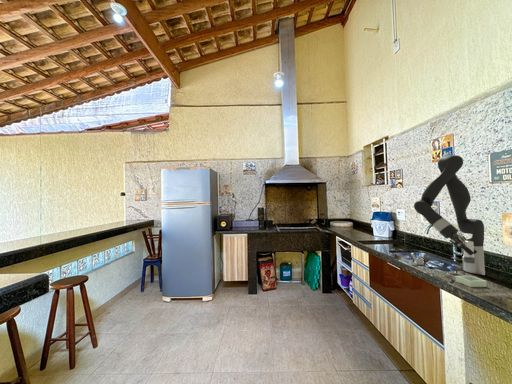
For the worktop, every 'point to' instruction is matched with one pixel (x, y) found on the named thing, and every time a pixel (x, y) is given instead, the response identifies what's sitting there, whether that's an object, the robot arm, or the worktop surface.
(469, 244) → the shiny silver cylinder
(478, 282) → the bin
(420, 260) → the lighter
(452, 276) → the socket block
